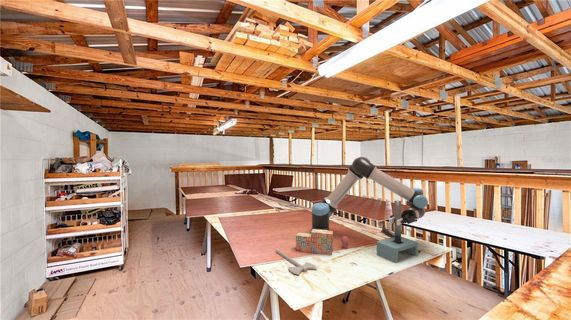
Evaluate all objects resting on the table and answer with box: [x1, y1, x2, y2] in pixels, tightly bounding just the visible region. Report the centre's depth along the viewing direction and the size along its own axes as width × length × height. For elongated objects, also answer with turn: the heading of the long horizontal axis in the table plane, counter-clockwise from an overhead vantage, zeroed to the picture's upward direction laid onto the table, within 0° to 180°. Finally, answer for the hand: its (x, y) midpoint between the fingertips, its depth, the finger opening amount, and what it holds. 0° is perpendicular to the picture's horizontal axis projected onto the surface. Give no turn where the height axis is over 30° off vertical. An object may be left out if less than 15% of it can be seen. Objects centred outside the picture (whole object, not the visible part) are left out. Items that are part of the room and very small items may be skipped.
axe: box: [275, 248, 317, 276], centre depth 129 cm, size 30×14×2 cm, turn 32°
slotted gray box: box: [380, 227, 422, 254], centre depth 161 cm, size 40×2×5 cm, turn 9°
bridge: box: [376, 236, 419, 263], centre depth 137 cm, size 20×12×8 cm, turn 120°
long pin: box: [393, 200, 402, 244], centre depth 137 cm, size 4×4×24 cm
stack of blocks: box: [295, 229, 334, 256], centre depth 143 cm, size 21×6×12 cm, turn 73°
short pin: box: [341, 235, 349, 249], centre depth 149 cm, size 4×4×6 cm
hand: (393, 222), depth 133 cm, fingers closed on long pin, 4 cm apart
